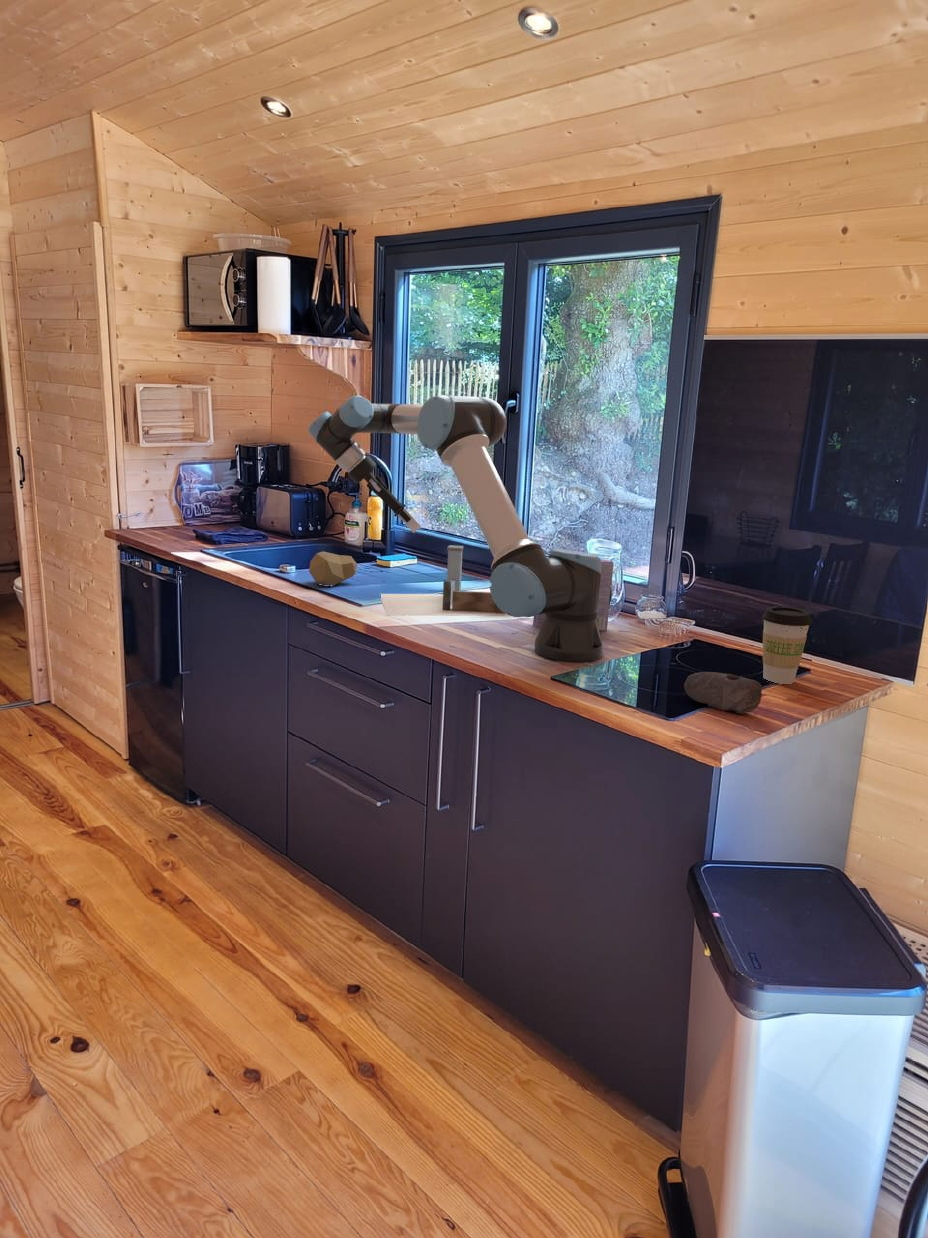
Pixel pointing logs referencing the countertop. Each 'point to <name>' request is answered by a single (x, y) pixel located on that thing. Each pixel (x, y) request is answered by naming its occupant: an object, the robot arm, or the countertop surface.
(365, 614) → the countertop surface
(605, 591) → the cake pan box
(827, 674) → the countertop surface
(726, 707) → the perforated stone tool
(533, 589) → the robot arm
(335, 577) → the low-poly potato
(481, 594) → the fixed fence rail
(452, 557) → the grey wall with post
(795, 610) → the coffee cup
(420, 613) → the board
